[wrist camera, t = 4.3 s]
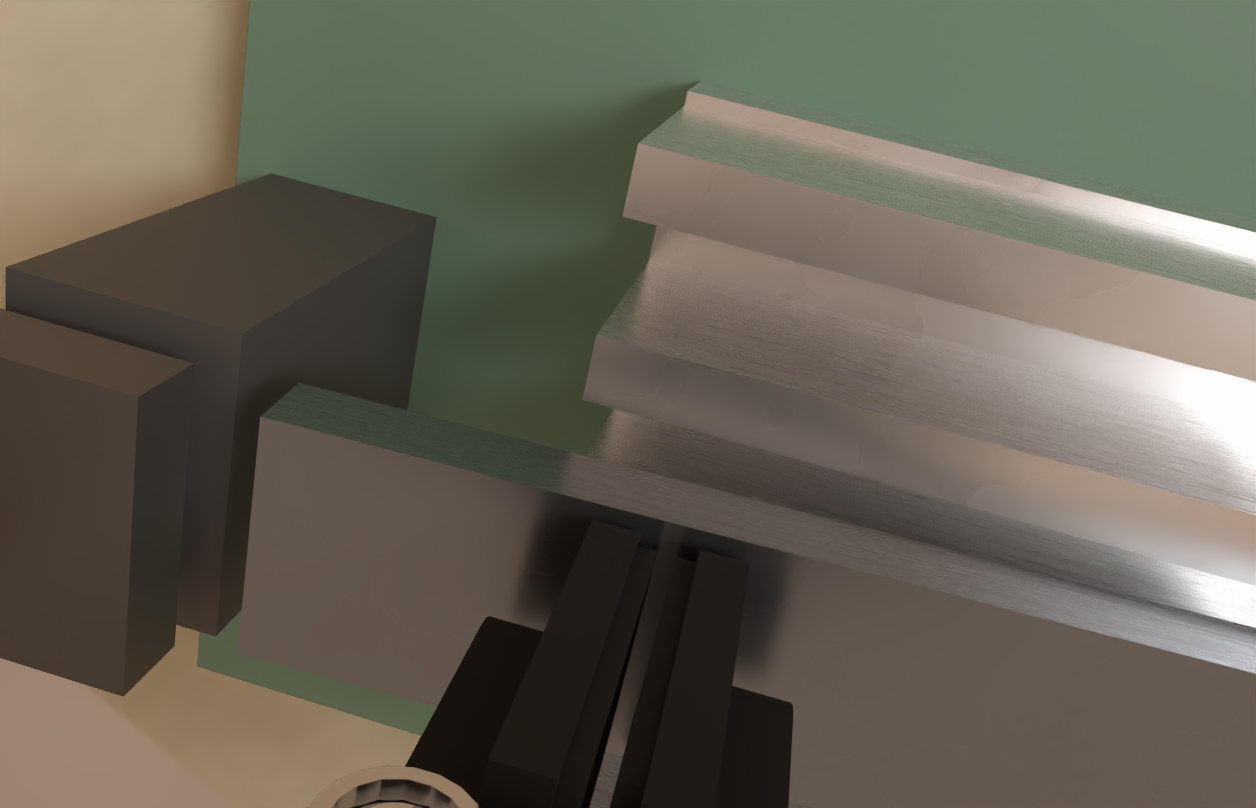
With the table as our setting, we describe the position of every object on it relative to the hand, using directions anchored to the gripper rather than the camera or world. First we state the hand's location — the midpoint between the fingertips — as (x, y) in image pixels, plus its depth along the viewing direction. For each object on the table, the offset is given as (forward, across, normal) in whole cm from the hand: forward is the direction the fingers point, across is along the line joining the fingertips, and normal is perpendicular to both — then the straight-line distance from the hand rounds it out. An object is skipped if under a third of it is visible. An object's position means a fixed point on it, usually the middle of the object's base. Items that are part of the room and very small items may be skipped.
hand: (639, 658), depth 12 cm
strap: (+1, -4, 0) cm, 4 cm away
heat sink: (+7, -4, 0) cm, 8 cm away
